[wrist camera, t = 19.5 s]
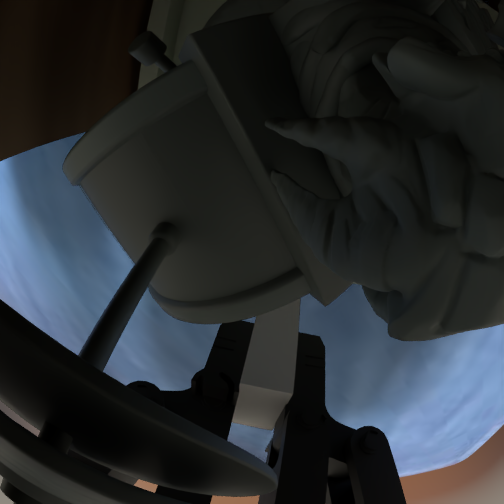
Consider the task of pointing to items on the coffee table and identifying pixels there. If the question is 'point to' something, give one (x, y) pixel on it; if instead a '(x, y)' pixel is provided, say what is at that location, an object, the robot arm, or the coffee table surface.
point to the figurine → (269, 218)
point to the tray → (192, 27)
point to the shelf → (66, 66)
